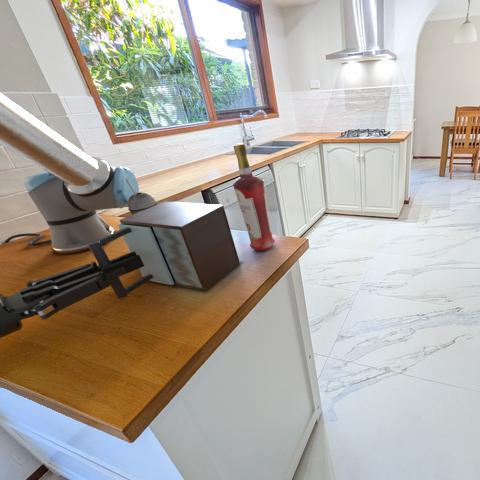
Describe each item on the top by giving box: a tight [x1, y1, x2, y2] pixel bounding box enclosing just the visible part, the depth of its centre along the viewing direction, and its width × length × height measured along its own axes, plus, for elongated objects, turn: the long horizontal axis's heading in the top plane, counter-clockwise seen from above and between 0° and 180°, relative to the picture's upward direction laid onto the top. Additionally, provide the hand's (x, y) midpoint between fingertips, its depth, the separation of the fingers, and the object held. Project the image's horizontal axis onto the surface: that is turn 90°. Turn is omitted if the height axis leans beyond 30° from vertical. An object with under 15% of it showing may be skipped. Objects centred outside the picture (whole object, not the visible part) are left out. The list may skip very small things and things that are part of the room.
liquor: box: [232, 142, 276, 252], centre depth 75 cm, size 7×7×28 cm
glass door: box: [88, 223, 174, 299], centre depth 61 cm, size 9×8×14 cm
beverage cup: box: [125, 179, 158, 215], centre depth 85 cm, size 7×7×20 cm
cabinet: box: [119, 200, 241, 292], centre depth 69 cm, size 18×12×16 cm, turn 71°
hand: (139, 258), depth 62 cm, fingers closed on glass door, 2 cm apart
